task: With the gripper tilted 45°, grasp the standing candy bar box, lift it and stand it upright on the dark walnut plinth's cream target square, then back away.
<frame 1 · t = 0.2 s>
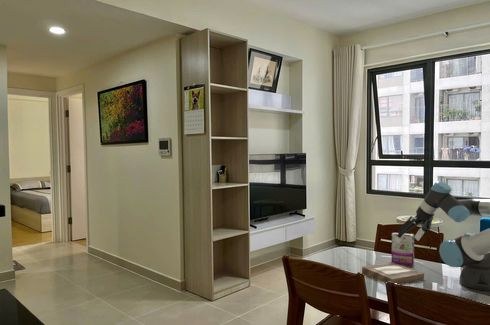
hand: (406, 240, 188), 16 cm above the table, tool tilted 35°, fingers open, 13 cm apart
walnut plinth: (392, 276, 179), on the table
candy bar box: (402, 263, 200), on the table
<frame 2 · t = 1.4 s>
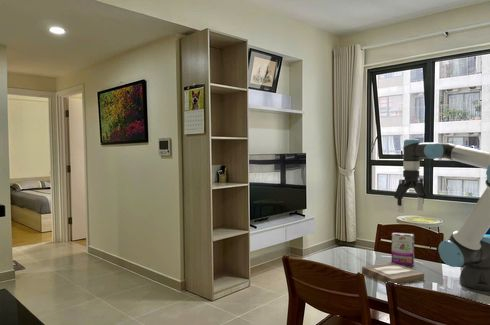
hand: (410, 211, 186), 31 cm above the table, tool pointing down, fingers open, 13 cm apart
nothing on the table moved.
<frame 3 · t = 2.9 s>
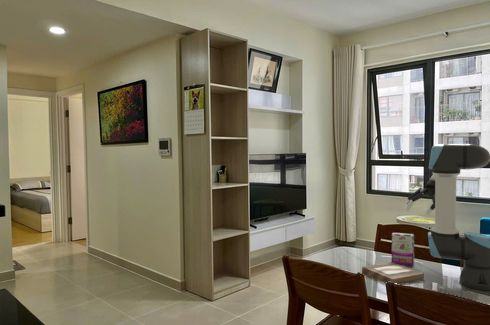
hand: (416, 211, 203), 28 cm above the table, tool tilted 45°, fingers open, 13 cm apart
nothing on the table moved.
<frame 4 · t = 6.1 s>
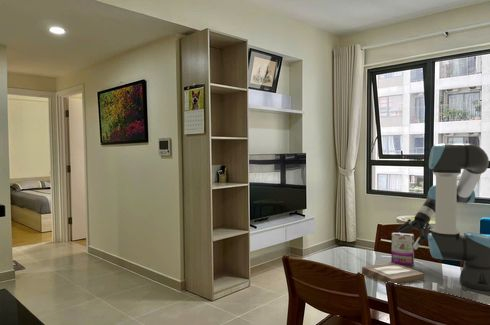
hand: (404, 245, 201), 10 cm above the table, tool tilted 45°, fingers open, 13 cm apart
nothing on the table moved.
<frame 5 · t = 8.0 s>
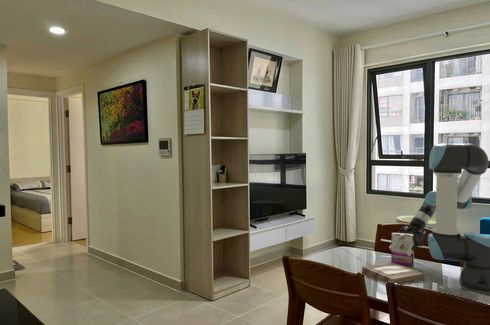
hand: (399, 251, 198), 7 cm above the table, tool tilted 45°, fingers closed on candy bar box, 11 cm apart
candy bar box: (402, 263, 200), on the table, touching gripper
when the fingers open (11 cm above the table, at t = 14.9 s): candy bar box drops 1 cm, resting on walnut plinth.
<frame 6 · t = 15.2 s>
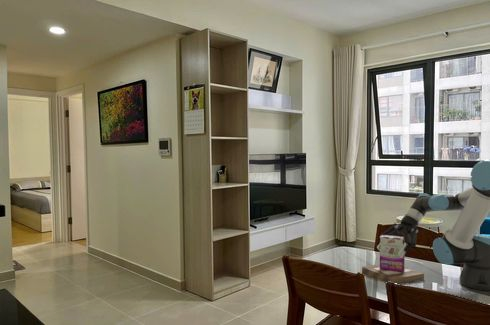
hand: (388, 252, 178), 12 cm above the table, tool tilted 45°, fingers open, 13 cm apart
candy bar box: (392, 269, 179), point 3 cm above the table, touching walnut plinth
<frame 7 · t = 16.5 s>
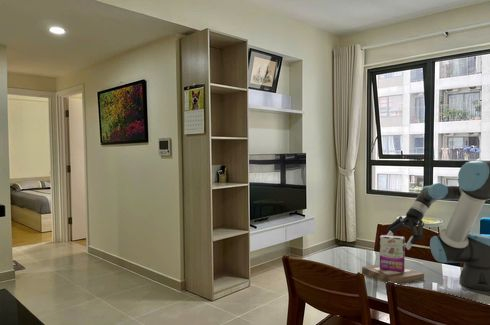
hand: (395, 245, 181), 15 cm above the table, tool tilted 45°, fingers open, 13 cm apart
nothing on the table moved.
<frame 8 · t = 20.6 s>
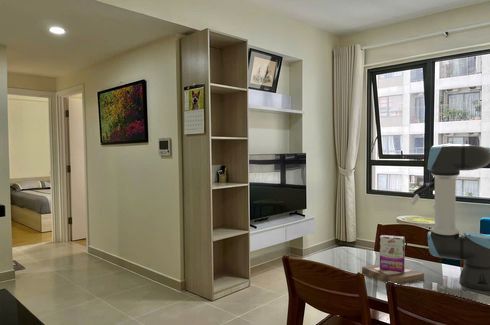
hand: (422, 205, 199), 32 cm above the table, tool tilted 45°, fingers open, 13 cm apart
nothing on the table moved.
at the end: candy bar box inside the target area on the walnut plinth (0.1 cm from its centre), point 3.0 cm above the walnut plinth's base; candy bar box tilted 0° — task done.
